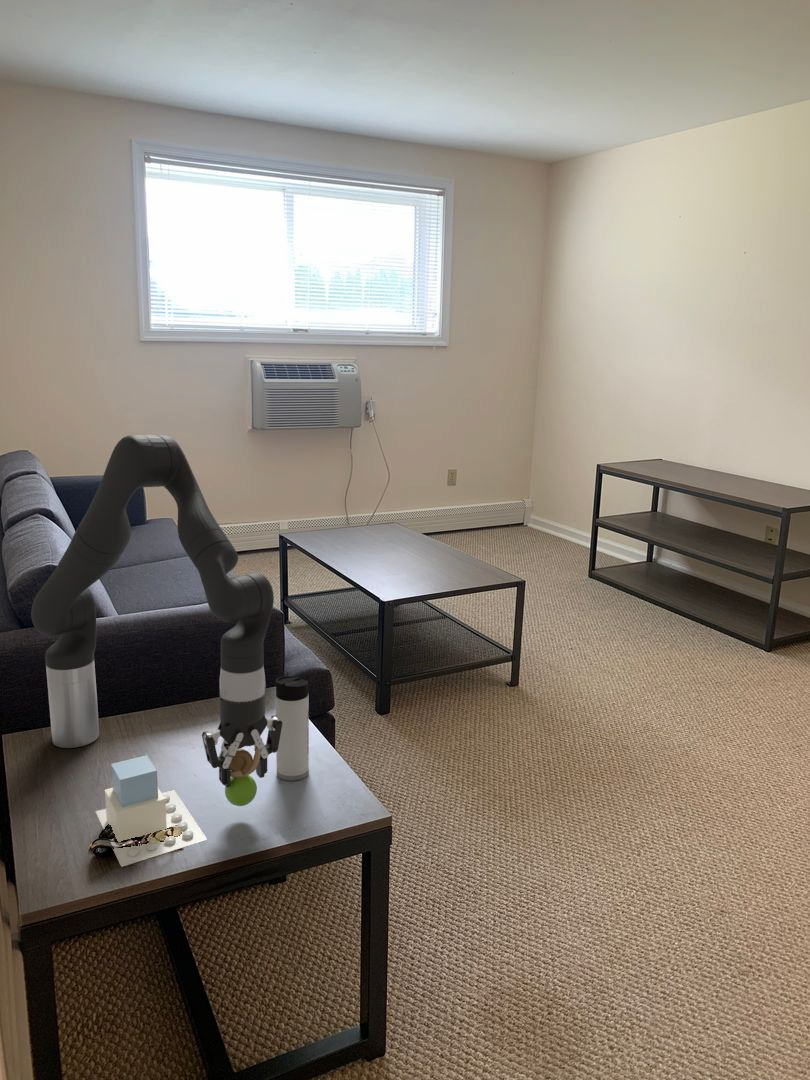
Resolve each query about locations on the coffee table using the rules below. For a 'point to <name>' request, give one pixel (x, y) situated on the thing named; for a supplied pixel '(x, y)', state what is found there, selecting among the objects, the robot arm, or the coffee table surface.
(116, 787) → the blue brick
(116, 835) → the base brick
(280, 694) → the travel mug
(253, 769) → the snail figurine
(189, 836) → the build plate
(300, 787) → the coffee table surface
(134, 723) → the coffee table surface
